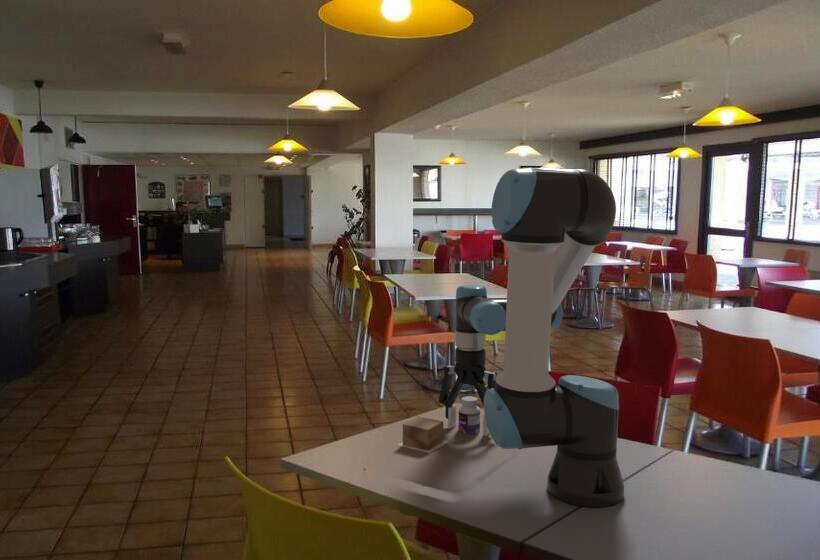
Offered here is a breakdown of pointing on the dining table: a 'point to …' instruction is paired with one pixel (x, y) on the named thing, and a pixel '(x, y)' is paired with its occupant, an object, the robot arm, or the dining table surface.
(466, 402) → the pill bottle
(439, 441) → the walnut block
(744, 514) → the dining table surface
